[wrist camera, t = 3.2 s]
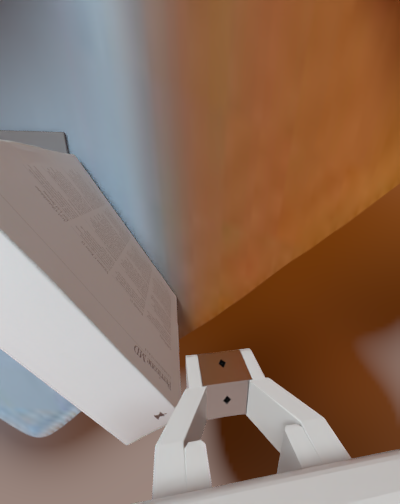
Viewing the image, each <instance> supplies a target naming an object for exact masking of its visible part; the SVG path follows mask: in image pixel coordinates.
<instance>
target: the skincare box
mask: <svg viewBox="0 0 400 504" xmlns="http://www.w3.org/2000/svg"><path fill="white" fill-rule="evenodd" d="M0 349H1V350H3V351H4V352H5V353H7V354H8V355H9V356H11V357H12V358H13V359H14V360H16V361H17V362H18V363H20V364H21V365H22V366H24V367H25V368H26V369H28V370H29V371H30V372H31V373H33V374H34V375H35V376H37V377H38V378H39V379H41V380H42V381H43V382H44V383H46V384H47V385H48V386H50V387H51V388H52V389H54V390H55V391H56V392H58V393H59V394H60V395H61V396H63V397H64V398H65V399H67V400H68V401H69V402H71V403H72V404H73V405H75V406H76V407H77V408H78V409H80V410H81V411H82V412H84V413H85V414H86V415H88V416H89V417H90V418H91V419H93V420H94V421H95V422H97V423H98V424H99V425H101V426H102V427H103V428H104V429H106V430H107V431H108V432H110V433H111V434H112V435H114V436H115V437H116V438H118V439H119V440H120V441H121V442H123V443H124V444H125V445H129V444H131V443H133V442H135V441H137V440H139V439H141V438H142V437H144V436H146V435H148V434H150V433H152V432H154V431H156V430H158V429H160V428H162V427H163V426H165V425H167V423H168V421H169V419H170V417H171V415H172V414H173V412H174V410H175V408H176V406H177V404H178V402H179V400H180V399H181V380H180V362H179V336H178V324H177V297H176V295H175V294H174V293H173V291H172V290H171V288H170V287H169V286H168V284H167V283H166V281H165V280H164V279H163V277H162V276H161V274H160V273H159V271H158V270H157V269H156V267H155V266H154V265H153V263H152V262H151V261H150V259H149V258H148V256H147V255H146V254H145V252H144V251H143V249H142V248H141V246H140V245H139V244H138V242H137V241H136V239H135V238H134V237H133V235H132V234H131V232H130V231H129V230H128V228H127V227H126V226H125V224H124V223H123V221H122V220H121V219H120V217H119V216H118V214H117V213H116V212H115V210H114V209H113V207H112V206H111V205H110V203H109V202H108V201H107V199H106V198H105V196H104V195H103V194H102V192H101V191H100V189H99V188H98V187H97V185H96V184H95V182H94V181H93V180H92V178H91V177H90V176H89V174H88V173H87V171H86V170H85V169H84V167H83V166H82V164H81V163H80V162H79V160H78V159H77V157H76V156H75V155H73V154H66V153H61V152H56V151H52V150H47V149H43V148H40V147H37V146H32V145H28V144H23V143H19V142H13V141H8V140H1V139H0Z"/></svg>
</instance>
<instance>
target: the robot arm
mask: <svg viewBox="0 0 400 504" xmlns="http://www.w3.org/2000/svg"><path fill="white" fill-rule="evenodd" d="M186 382H187V383H186V384H187V389H185V391H184V393H183V395H182V397H181V399H180V400H179V402H178V404H177V406H176V408H175V410H174V412H173V414H172V415H171V417H170V419H169V421H168V423H167V425H166V427H165V429H164V430H163V433H162V434H161V436H160V438H159V440H158V442H157V444H156V445H155V457H154V474H153V475H154V476H153V493H152V500H148V501H143V502H138V503H133V504H400V449H397V450H392V451H387V452H383V453H378V454H373V455H368V456H363V457H358V458H353V459H351V457H350V456H349V454H348V453H347V451H346V450H345V448H344V447H343V446H342V444H341V442H340V441H339V439H338V438H337V436H336V435H335V433H334V432H333V430H332V429H331V427H330V426H329V425H328V423H327V421H326V420H325V418H324V417H322V416H321V415H319V414H318V413H317V412H315V411H314V410H313V409H311V408H309V407H308V406H307V405H306V404H304V403H303V402H301V401H300V400H299V399H297V398H296V397H295V396H293V395H292V394H290V393H289V392H288V391H286V390H285V389H283V388H282V387H281V386H279V385H278V384H277V383H275V382H274V381H272V380H271V379H270V378H265V377H264V374H263V373H262V371H261V369H260V367H259V365H258V363H257V361H256V359H255V357H254V355H253V353H252V351H251V349H249V348H247V349H239V350H232V351H224V352H217V353H205V354H197V355H186ZM240 414H246V415H247V416H248V418H249V419H250V420H251V421H252V422H253V423H254V424H255V425H256V426H257V428H258V429H259V430H260V431H261V432H262V433H263V434H264V436H265V437H266V438H267V439H268V440H269V441H270V442H271V443H272V444H273V446H274V447H275V448H276V449H277V450H278V451H279V452H280V459H279V465H278V470H277V474H275V475H270V476H265V477H260V478H255V479H250V480H245V481H240V482H235V483H231V484H226V485H221V486H216V487H212V483H211V477H210V470H209V464H208V457H207V450H206V444H205V443H204V442H202V441H201V437H202V434H203V431H204V428H205V425H206V421H207V420H210V419H215V418H220V417H225V416H233V415H240Z"/></svg>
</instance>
